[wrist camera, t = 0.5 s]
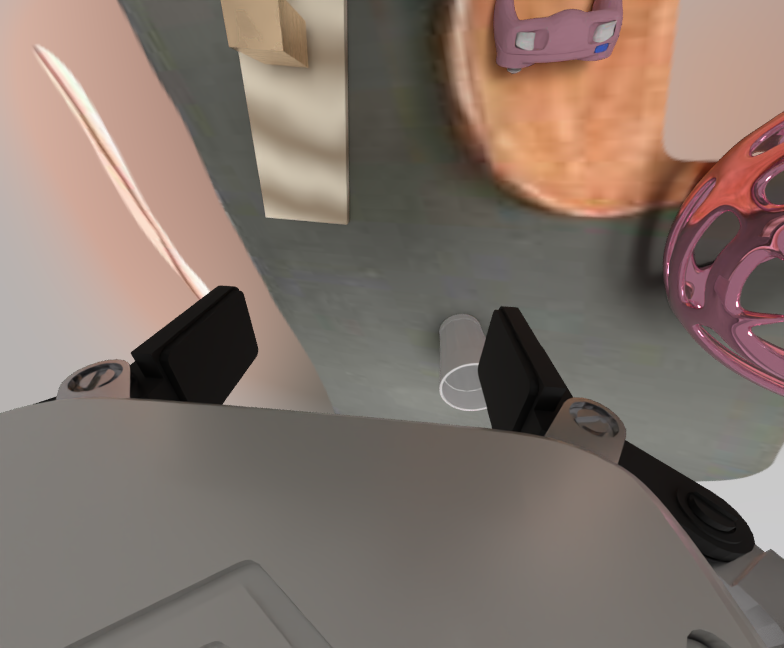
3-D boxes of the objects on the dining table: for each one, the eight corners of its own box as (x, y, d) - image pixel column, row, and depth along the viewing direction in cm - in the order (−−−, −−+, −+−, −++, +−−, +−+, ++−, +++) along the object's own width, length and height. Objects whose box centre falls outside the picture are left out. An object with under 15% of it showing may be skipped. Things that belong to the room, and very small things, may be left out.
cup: (480, 353, 46) (498, 413, 36) (430, 349, 46) (435, 408, 36) (492, 311, 42) (516, 366, 32) (437, 306, 42) (445, 360, 32)
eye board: (190, -300, 19) (7, -657, 10) (343, -290, 18) (285, -644, 10) (271, 214, 36) (228, 237, 28) (349, 221, 36) (329, 247, 28)
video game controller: (484, 54, 28) (495, 86, 24) (494, -17, 24) (509, 9, 21) (591, 42, 27) (619, 73, 24) (619, -35, 23) (658, -10, 20)
